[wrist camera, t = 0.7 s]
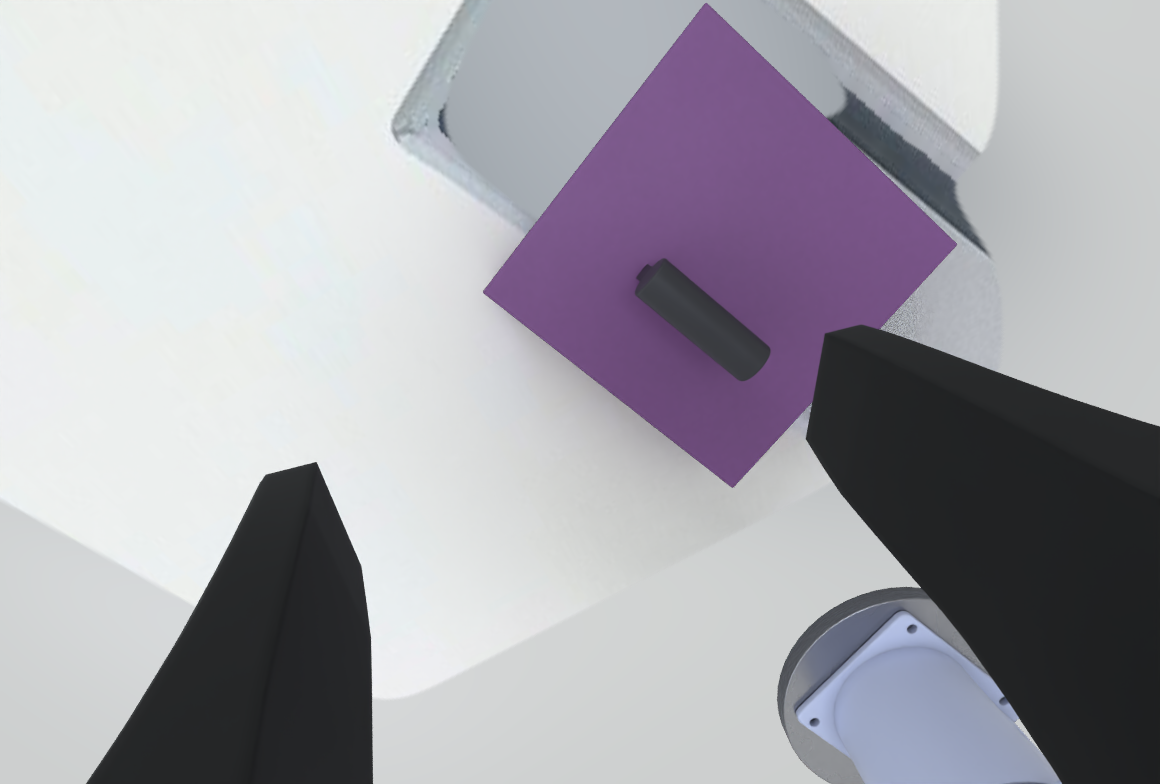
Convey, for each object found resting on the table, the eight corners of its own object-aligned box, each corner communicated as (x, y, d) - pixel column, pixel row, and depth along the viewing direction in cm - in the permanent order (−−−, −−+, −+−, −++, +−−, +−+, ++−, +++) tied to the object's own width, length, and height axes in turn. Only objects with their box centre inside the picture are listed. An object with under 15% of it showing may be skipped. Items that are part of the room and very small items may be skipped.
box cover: (702, 6, 24) (734, -37, 20) (949, 243, 26) (1024, 250, 22) (483, 290, 26) (469, 306, 22) (729, 483, 29) (759, 530, 25)
